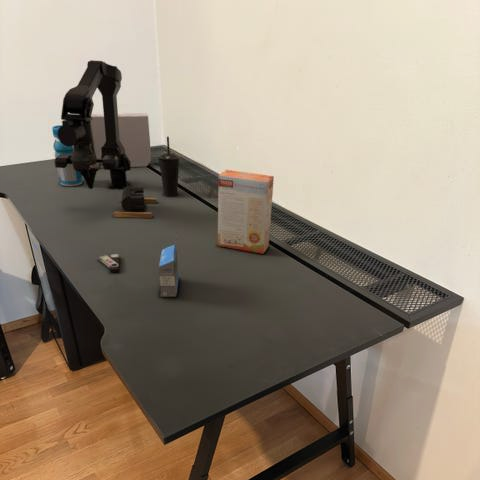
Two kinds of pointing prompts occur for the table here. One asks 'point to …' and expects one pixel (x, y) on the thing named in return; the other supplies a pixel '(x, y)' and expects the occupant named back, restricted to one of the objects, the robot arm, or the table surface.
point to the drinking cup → (169, 171)
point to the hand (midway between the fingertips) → (91, 188)
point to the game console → (126, 136)
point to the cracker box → (244, 210)
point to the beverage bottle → (68, 173)
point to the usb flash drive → (111, 262)
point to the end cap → (133, 200)
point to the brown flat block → (137, 214)
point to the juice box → (169, 271)
